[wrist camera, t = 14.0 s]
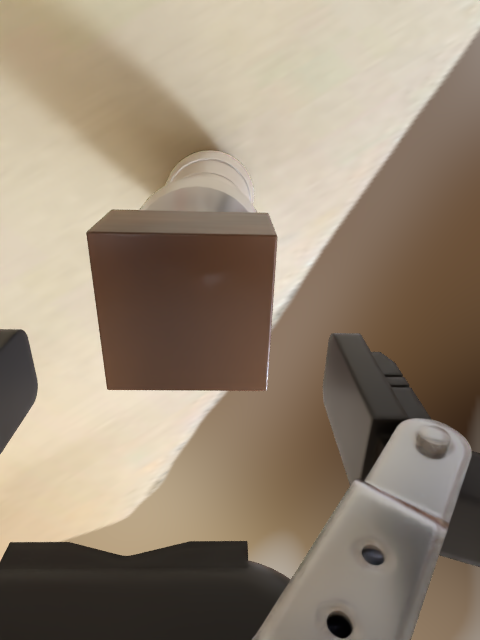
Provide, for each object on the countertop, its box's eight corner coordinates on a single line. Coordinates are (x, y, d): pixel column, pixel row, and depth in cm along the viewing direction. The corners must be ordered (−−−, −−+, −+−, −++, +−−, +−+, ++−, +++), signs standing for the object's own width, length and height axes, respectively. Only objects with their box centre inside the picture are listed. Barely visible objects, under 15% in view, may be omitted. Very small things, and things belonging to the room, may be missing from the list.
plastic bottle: (267, 203, 35) (310, 306, 17) (197, 246, 36) (168, 384, 18) (224, 129, 32) (220, 157, 14) (151, 179, 34) (64, 261, 16)
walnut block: (268, 212, 15) (277, 235, 12) (261, 348, 18) (267, 391, 15) (110, 209, 15) (85, 231, 12) (125, 346, 17) (106, 390, 15)
